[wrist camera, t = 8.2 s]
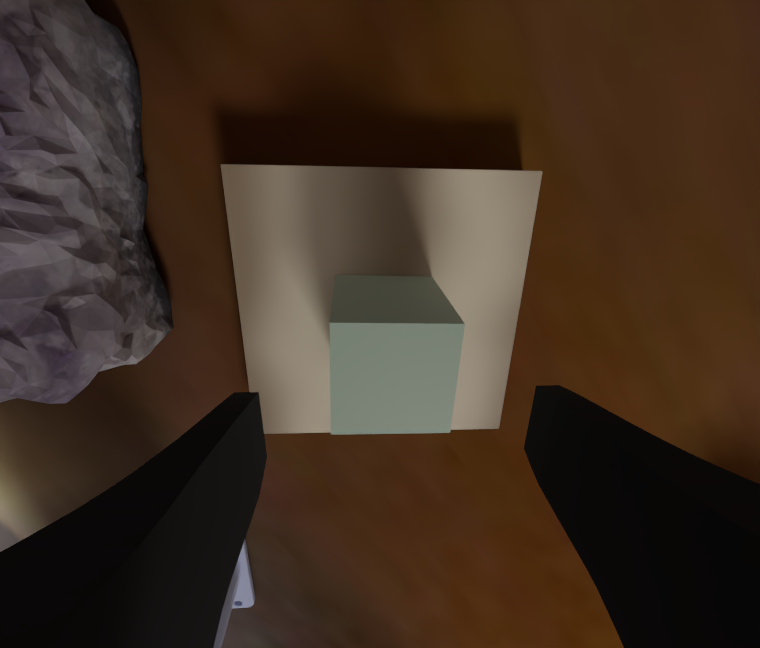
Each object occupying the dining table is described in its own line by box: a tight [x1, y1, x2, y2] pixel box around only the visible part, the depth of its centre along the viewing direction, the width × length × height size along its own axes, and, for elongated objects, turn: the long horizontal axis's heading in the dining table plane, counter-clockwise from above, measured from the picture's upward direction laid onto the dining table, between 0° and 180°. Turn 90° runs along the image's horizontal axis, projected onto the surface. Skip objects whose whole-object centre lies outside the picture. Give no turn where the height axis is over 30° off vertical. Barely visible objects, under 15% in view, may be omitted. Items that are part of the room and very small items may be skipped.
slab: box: [221, 164, 543, 434], centre depth 18 cm, size 12×12×2 cm
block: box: [330, 275, 465, 434], centre depth 14 cm, size 4×4×5 cm
